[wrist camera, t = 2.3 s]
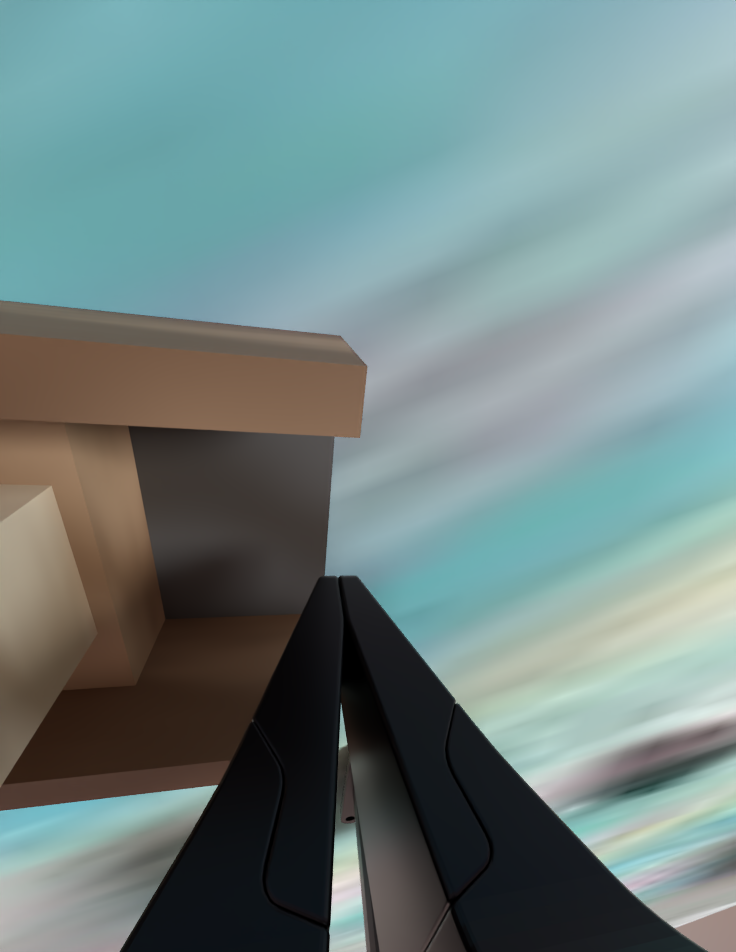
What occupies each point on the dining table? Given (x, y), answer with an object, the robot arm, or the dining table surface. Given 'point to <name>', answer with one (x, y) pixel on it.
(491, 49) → the dining table surface
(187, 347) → the trap box
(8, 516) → the birch block
